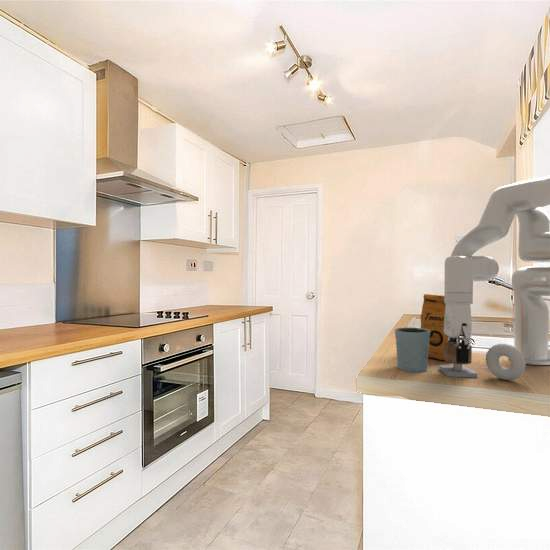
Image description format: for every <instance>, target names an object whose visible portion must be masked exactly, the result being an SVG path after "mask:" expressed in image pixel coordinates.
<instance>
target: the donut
mask: <svg viewBox="0 0 550 550" xmlns="http://www.w3.org/2000/svg"><path fill="white" fill-rule="evenodd" d="M501 357H506V358H508V360H509V361H510V366H509V367H504V366H503V365H502V364H501V363H500V358H501ZM485 364H486V367H487V369H488V370H489V371H490V372H491V374H492V375H494V376H495V377H497V379H500V380H503V381H513V380H518V379H519V378H520V377H521V376H523V375H524V372H525V370H526V366H527V364H525V359H524V357H523V355H522V353H521V352H520V351H519V350H518V349H517V348H515V347H514V346H513V345H511V344H509V343H497V344H495V345H494V344H493V345H492V346H491V347H490V348H488V350H487V352H486V354H485Z"/></svg>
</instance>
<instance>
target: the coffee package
mask: <svg viewBox="0 0 550 550" xmlns="http://www.w3.org/2000/svg"><path fill="white" fill-rule="evenodd" d="M422 298H423V303H422V305H421V306H422V309H421V313H420V328H422V329H427V330H430V339H429V351H428V359H429V358H430V359H434V360H439V361H444V359H445V343H448V336H447V335H445V334H444V315H445V306H446V303H444V295H438V294H437V295H436V294H426V293H423V297H422ZM459 337H461V336H459Z"/></svg>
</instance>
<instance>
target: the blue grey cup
mask: <svg viewBox="0 0 550 550" xmlns="http://www.w3.org/2000/svg"><path fill="white" fill-rule="evenodd" d="M394 335H395V346H396V348H395V349H396V360H397V362H396V363H397V364H396V365H397V369H398V368H399V371H400V370H401V371H403V372H410V373H425V372H427V371H428V360H429V357H428V351H429V339H430V330H427V329H422V328H421V327H406V326H405V327H397V328H395V329H394Z"/></svg>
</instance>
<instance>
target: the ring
mask: <svg viewBox="0 0 550 550" xmlns="http://www.w3.org/2000/svg"><path fill="white" fill-rule="evenodd" d="M454 345H457V343H456V342H449V343H445V359H444V360H445V361H444V360H443V361H444V362H446V363H448V364H453V363H454V364H462V365H470V364H472V361H473V360H472V358H473V356H472V355H473V354H472V347H473V346H472V345H471V344H469V362H468V363H458V362H456V348H458V346H454Z"/></svg>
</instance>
